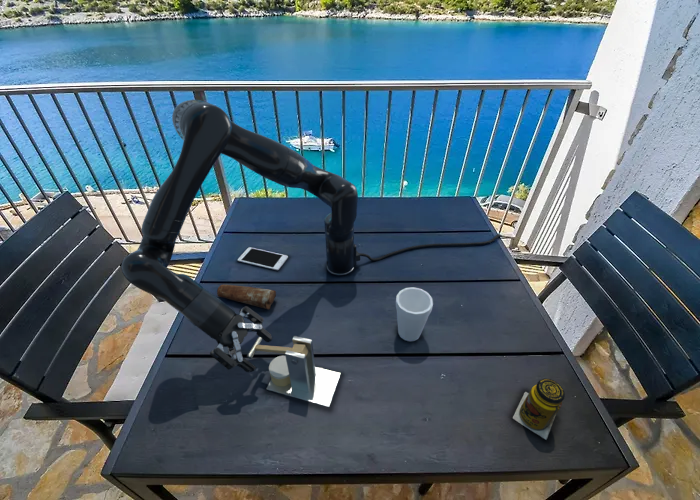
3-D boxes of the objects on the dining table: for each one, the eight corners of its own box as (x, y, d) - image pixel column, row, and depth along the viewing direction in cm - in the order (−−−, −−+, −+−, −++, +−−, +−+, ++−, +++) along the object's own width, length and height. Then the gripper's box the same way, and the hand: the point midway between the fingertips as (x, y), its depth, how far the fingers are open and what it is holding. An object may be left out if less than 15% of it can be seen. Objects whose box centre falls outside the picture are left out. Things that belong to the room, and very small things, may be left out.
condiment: (512, 418, 79) (528, 390, 71) (525, 391, 84) (541, 362, 76) (545, 440, 75) (567, 413, 68) (557, 410, 80) (578, 382, 73)
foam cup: (428, 324, 100) (435, 292, 92) (423, 349, 93) (430, 317, 85) (396, 315, 103) (400, 284, 95) (388, 340, 96) (392, 308, 88)
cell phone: (278, 271, 118) (277, 269, 118) (237, 261, 122) (236, 259, 122) (288, 257, 124) (288, 255, 123) (249, 248, 128) (248, 246, 128)
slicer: (266, 391, 84) (256, 355, 75) (282, 360, 91) (274, 323, 82) (329, 409, 81) (326, 373, 72) (340, 375, 88) (339, 338, 78)
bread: (270, 314, 103) (267, 301, 100) (215, 299, 108) (210, 287, 104) (279, 299, 108) (277, 286, 105) (226, 286, 113) (222, 273, 109)
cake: (290, 361, 90) (288, 351, 87) (299, 379, 86) (297, 370, 83) (267, 371, 87) (265, 361, 85) (276, 390, 83) (273, 381, 81)
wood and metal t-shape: (249, 360, 81) (244, 353, 80) (260, 341, 85) (256, 334, 84) (302, 365, 76) (298, 359, 75) (311, 345, 80) (307, 338, 79)
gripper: (195, 332, 71) (256, 377, 76) (232, 285, 82) (283, 327, 86) (181, 342, 75) (239, 384, 80) (218, 296, 86) (267, 335, 91)
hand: (262, 354), depth 83 cm, fingers open, 8 cm apart
